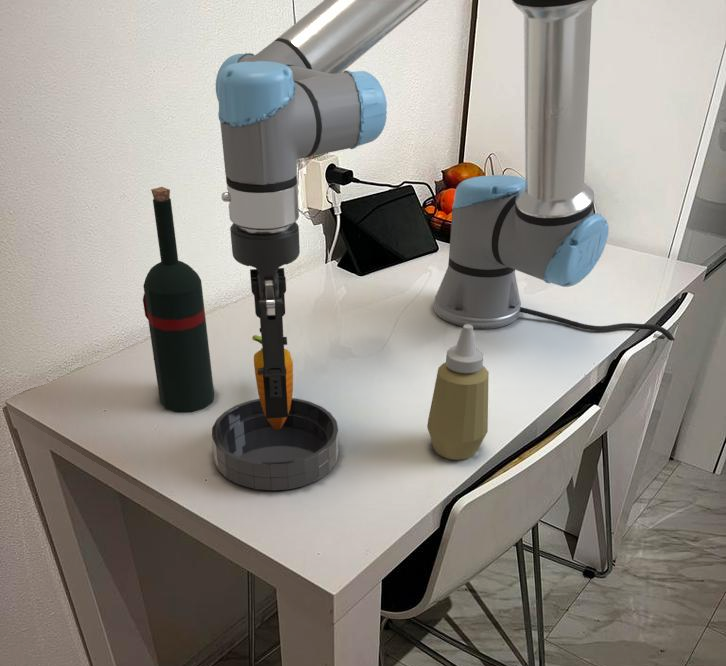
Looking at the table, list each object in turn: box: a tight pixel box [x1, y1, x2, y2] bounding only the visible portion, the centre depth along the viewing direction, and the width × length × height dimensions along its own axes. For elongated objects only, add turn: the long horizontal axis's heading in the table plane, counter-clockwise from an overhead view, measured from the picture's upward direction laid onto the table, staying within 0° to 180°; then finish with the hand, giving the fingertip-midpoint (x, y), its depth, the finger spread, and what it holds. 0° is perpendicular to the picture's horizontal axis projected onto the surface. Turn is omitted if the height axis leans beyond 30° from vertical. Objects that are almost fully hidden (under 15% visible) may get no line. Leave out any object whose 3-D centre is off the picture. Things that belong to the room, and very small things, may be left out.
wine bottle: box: [142, 186, 215, 413], centre depth 109 cm, size 8×10×30 cm
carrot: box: [251, 334, 294, 430], centre depth 99 cm, size 5×5×15 cm
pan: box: [211, 397, 339, 491], centre depth 105 cm, size 16×16×4 cm
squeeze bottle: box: [426, 324, 490, 461], centre depth 103 cm, size 8×8×18 cm
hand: (275, 404), depth 101 cm, fingers closed on carrot, 5 cm apart
